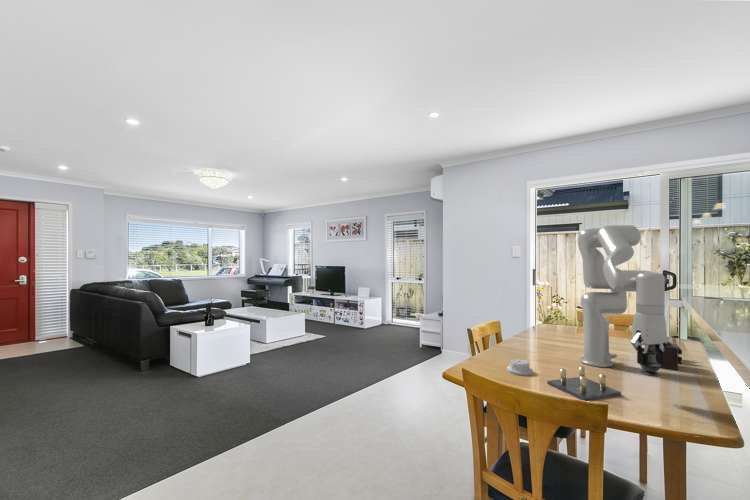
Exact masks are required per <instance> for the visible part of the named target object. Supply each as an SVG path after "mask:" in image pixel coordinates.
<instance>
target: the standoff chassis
mask: <svg viewBox="0 0 750 500" xmlns="http://www.w3.org/2000/svg"><path fill="white" fill-rule="evenodd" d="M559 371H560V378H559V379H551V380H547V385H549V386H551V387H553V388H556V389H557V390H559V391H561V392H564V393H566V394H568V395H570V396H572V397H575V398H577V399H579V400H581V401H583V400H586V401H593V400H597V399H605V398H611V397H612V398H613V397H620V396H622V392H621V391H619V390H617V389H614V388H612V387H610V386H606V385H607V384H606V382H607V379H606V374H604V373H599V382H598V381H594V380H591V379H589V378H587V377H586V374H585V373H586V372H585V371H586V367H584V366H579V367H578V375H579V376H575V377H567V369H566V368H560V370H559Z"/></svg>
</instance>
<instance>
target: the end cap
mask: <svg viewBox="0 0 750 500" xmlns="http://www.w3.org/2000/svg"><path fill="white" fill-rule="evenodd" d="M679 355H683V350H682V349H681V348H680V346H678V363H680V364H679V365H682V364H683V363H682V361H683V357H682V356H679Z"/></svg>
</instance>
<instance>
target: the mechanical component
mask: <svg viewBox="0 0 750 500" xmlns="http://www.w3.org/2000/svg"><path fill="white" fill-rule="evenodd" d="M506 371H507V373H510V374H513V375H517V376H531V375H532V374H533V368H531V367H530V361H527V360H525V359H516V358H515V359H511V360H509V365H507V366H506Z"/></svg>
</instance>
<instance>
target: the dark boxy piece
mask: <svg viewBox="0 0 750 500" xmlns="http://www.w3.org/2000/svg"><path fill="white" fill-rule="evenodd" d="M678 347H679V346H678V343H672V342H670V341H668V342H667V343H666V346H665V347H664V352H663V364H661V366H660V369H661V368H662V369H663V370H666V371H667V370H668V371H674V370H675V371H676V372H677V371H678V370H679V364H678V356H679V354H678Z"/></svg>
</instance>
